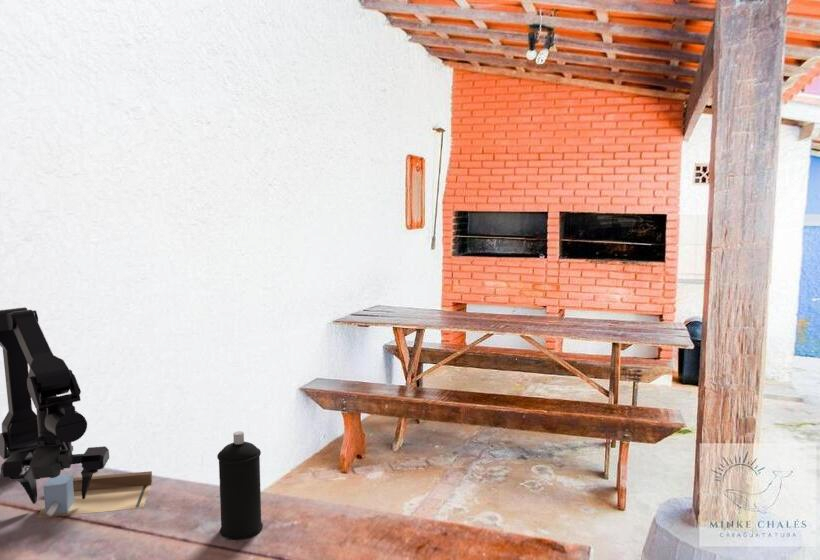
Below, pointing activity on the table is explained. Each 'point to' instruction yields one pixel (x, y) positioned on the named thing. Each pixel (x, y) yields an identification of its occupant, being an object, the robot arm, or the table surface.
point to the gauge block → (59, 494)
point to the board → (109, 493)
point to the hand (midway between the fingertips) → (59, 500)
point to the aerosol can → (240, 489)
